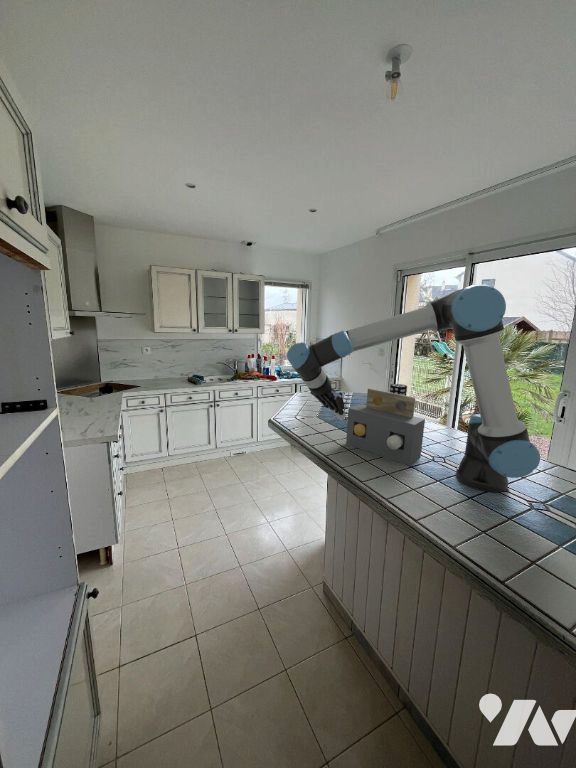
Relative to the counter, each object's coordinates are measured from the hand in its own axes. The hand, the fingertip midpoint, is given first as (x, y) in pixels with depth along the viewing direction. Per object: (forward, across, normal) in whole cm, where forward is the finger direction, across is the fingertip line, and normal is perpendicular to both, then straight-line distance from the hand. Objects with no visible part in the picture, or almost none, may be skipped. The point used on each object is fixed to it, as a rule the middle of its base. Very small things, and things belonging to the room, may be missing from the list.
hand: (342, 417), depth 120 cm
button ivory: (+15, +17, 0) cm, 22 cm away
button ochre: (+16, +1, +2) cm, 17 cm away
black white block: (+51, -4, +28) cm, 58 cm away
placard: (+14, +9, +14) cm, 21 cm away
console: (+23, +9, 0) cm, 25 cm away
